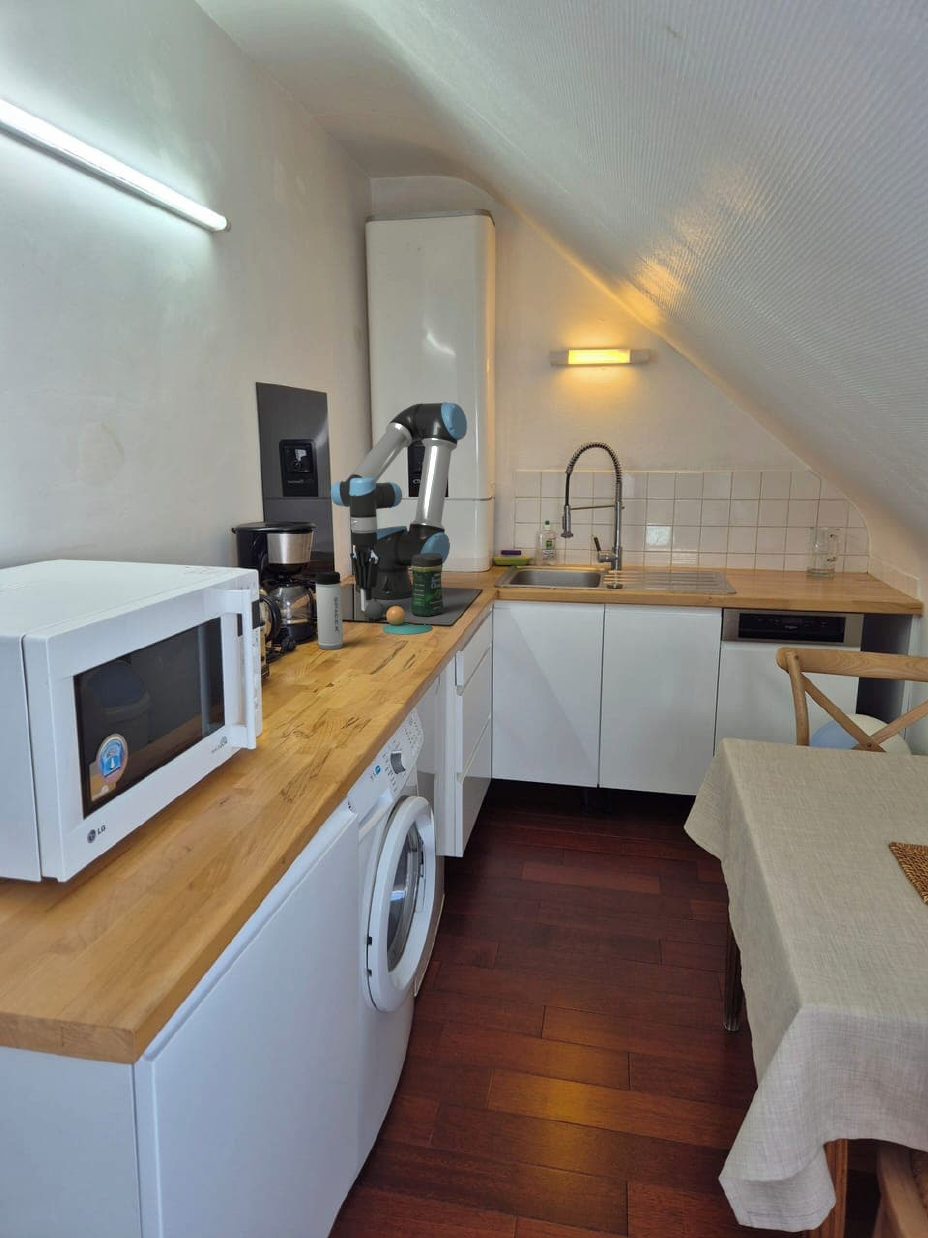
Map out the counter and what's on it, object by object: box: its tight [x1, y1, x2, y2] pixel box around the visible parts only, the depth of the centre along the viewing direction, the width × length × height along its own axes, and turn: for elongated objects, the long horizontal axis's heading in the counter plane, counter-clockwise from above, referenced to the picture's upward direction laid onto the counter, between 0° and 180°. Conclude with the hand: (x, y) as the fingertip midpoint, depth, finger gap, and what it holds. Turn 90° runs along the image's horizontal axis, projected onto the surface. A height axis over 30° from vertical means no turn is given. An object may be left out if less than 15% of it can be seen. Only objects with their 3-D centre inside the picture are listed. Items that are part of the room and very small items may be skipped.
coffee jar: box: [410, 553, 444, 617], centre depth 247 cm, size 10×8×19 cm
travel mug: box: [313, 569, 344, 651], centre depth 209 cm, size 6×7×20 cm
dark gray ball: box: [365, 600, 385, 621], centre depth 241 cm, size 6×6×6 cm
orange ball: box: [385, 605, 407, 625], centre depth 234 cm, size 6×6×6 cm
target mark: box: [381, 623, 433, 635], centre depth 231 cm, size 14×14×1 cm
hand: (366, 610), depth 246 cm, fingers closed
